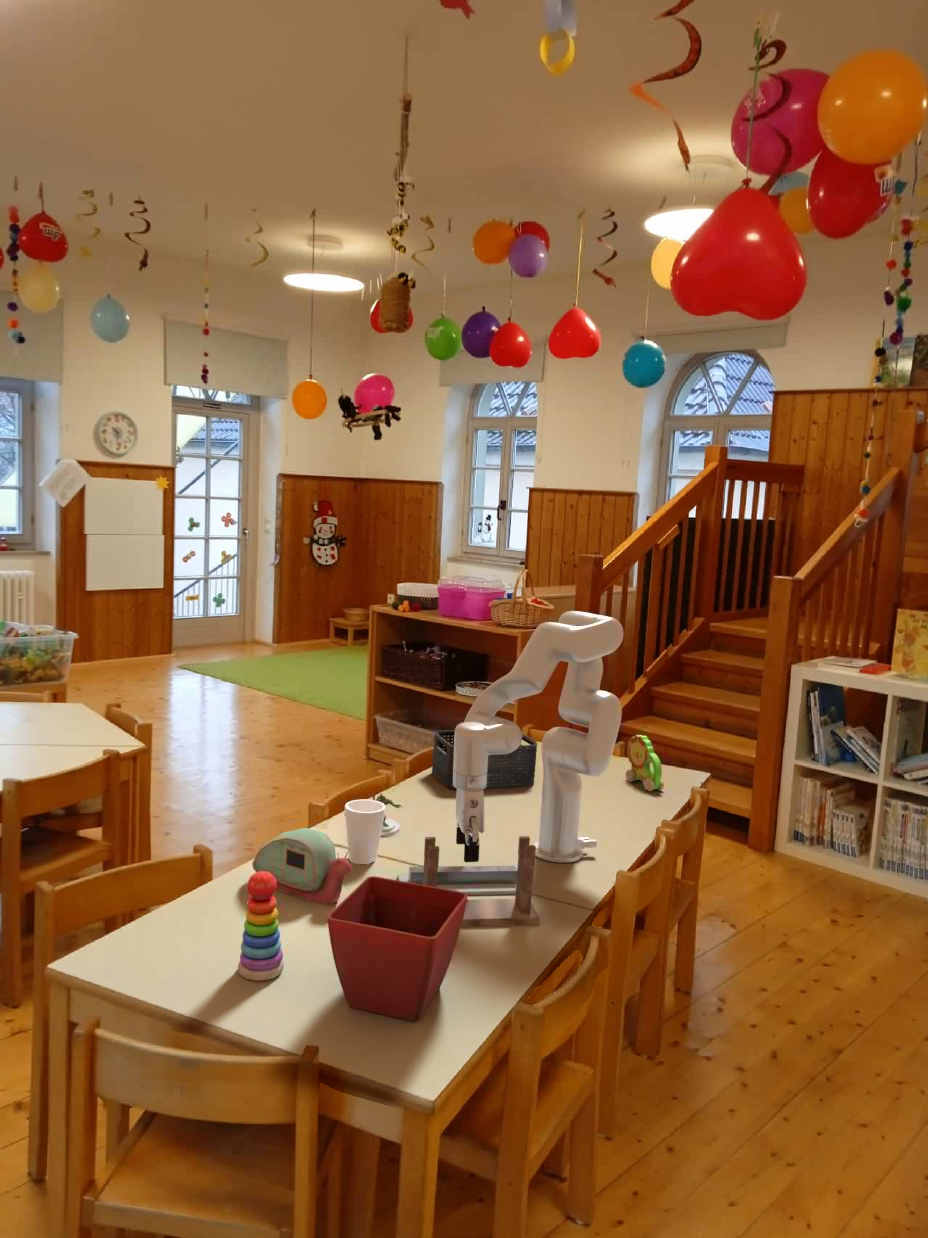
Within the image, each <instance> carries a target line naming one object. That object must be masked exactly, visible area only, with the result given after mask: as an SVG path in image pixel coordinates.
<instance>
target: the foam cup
mask: <svg viewBox="0 0 928 1238" xmlns="http://www.w3.org/2000/svg"><path fill="white" fill-rule="evenodd" d="M375 800H376V799H375ZM375 800H373V799H365V798H363V799H354V800H351V801H348V802H346V803H345V805H344V817H345V826H346V827H345V829H346V838H347V839H346V840H347V852H348V859H349V860H348V861H350V862H351V863H353V864H355V865H360V864H366V865H371V864H370V863H372V862H374V861H375V862H376V861H377V857H378V854H379V852H378V851H379V848H380V842H381V838H382V837H381V832H382V826H383V821H384V817H385V815H386V810H387V809H386V808H387V807H386V806H387V805H384V804H383V803H381V802H379V801H375ZM349 847H350V849H349ZM348 850H349V851H348ZM375 862H374V863H375ZM372 864H373V863H372Z"/></svg>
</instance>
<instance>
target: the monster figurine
mask: <svg viewBox="0 0 928 1238" xmlns="http://www.w3.org/2000/svg"><path fill="white" fill-rule="evenodd" d="M371 791H372V800H375V801H379V802H381V803H383V804H384V805H385V806H387V805H391V806H392V807H394V808H396V809H401V808H403V806H402V805H401V804H394V802H393V800H392V799H389V798H387V797H386V796H384V795H383V793H380V795H378V796H377V798H376V792H375V791H373V789H372V790H371ZM400 829H401V826H400V824H399V822H398V821H396V820H393V819H390V818H388V817H387V815H386V814H385V817H384V821H383V826H382V832H381V836H386V837H389V836H388V835H391V836H394V835H396V834H398V833H399V832H400ZM397 832H398V833H397ZM395 833H396V834H395ZM393 834H394V835H393Z"/></svg>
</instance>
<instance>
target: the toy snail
mask: <svg viewBox="0 0 928 1238" xmlns="http://www.w3.org/2000/svg"><path fill="white" fill-rule="evenodd" d="M335 847H336V846H335V844H334V842H333V841H332V840H331V838H330V837H329V836H328V834H327V833H326V834H325V833H324V832H322V831H320V830H317V829H312V828H306V827H302V828H299V829H293V830H290V831H284V832H282V833H281V834H279V835H277V836H276V837H274V838H272V839H271V840H269V841H268V842H266V843H264V844H263V845H262V846H261V847H260V849H259V851H257V853H256V856H255V858H254V859H253V861H252V863H251V864H252V868H253V871H255V873H257V872H260V871H266V872H269V873H271V874H272V875H273V876H274V877H275V879H276V883H277V888H276V890H277V891H280V892H283V893H285V894H286V893H287V894H289V895H291V896H295V897H297V898H300V899H303V900H306V901H310V902H313V903H316V904H321V905H327V904H335V903H337V901H338V900H340V898H341V893H342V888H343V883H344V878H345V876H348V875H349V874H350V873H351V871H352V864H351V863H350V862H349V861H350V860H348V859H347V857H348V855H349V852H348V851H349V850H348V849H347V852H346V854H345V856H344V857H336V855H339V852H337V853H336V848H335ZM349 849H350V847H349Z"/></svg>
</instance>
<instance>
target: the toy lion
mask: <svg viewBox="0 0 928 1238" xmlns="http://www.w3.org/2000/svg"><path fill="white" fill-rule="evenodd" d="M626 754H627V756H628V757H627V758H628V762H629V763H630V764H631V769H627V770H626V772H625V779H626V781H627V780H628V781H627V782H629V783H630V782H634V781H638V780H640V781H639V782H642V781H641V780H643V782H644V783H643V785H644V790H648V791H647V792H653V790H656V789H658V790H657V791H662V790H663V789H664V787H665V786H664V785H665V782H664V780H663V779H662V773H663V771H662V770H663V769H662V764H661V759H660V758H659V756H658V755H657V754H656V753H655V751H654V747H653V744H652V742H651V740H649V738H648V736H647V735H642V734H636V735H634V736H631V737H630V739H629V741H627V749H626ZM651 763H652V764H651ZM651 765H652V766H653V770H652V769H651Z"/></svg>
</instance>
